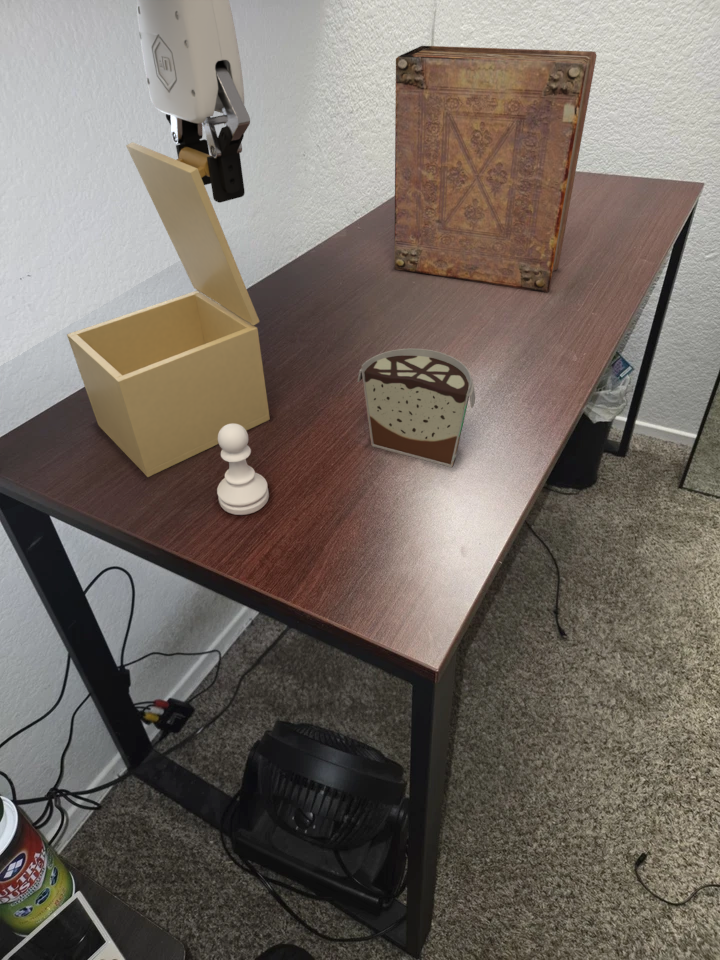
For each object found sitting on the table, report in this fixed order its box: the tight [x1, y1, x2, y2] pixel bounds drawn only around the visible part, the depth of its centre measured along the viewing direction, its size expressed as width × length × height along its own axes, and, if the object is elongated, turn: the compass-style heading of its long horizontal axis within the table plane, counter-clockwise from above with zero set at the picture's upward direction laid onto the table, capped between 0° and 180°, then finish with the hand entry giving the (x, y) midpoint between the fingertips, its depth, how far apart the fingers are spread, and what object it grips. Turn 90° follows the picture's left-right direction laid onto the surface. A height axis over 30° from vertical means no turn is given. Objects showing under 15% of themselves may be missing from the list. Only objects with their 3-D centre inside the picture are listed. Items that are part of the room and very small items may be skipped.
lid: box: [125, 141, 260, 326], centre depth 67 cm, size 16×13×5 cm
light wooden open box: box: [66, 290, 271, 478], centre depth 73 cm, size 16×13×12 cm
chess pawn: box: [216, 423, 270, 516], centre depth 63 cm, size 5×5×9 cm
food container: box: [357, 348, 476, 468], centre depth 70 cm, size 12×6×10 cm, turn 65°
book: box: [393, 45, 598, 294], centre depth 98 cm, size 25×9×30 cm, turn 67°
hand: (213, 190), depth 65 cm, fingers closed on lid, 5 cm apart
